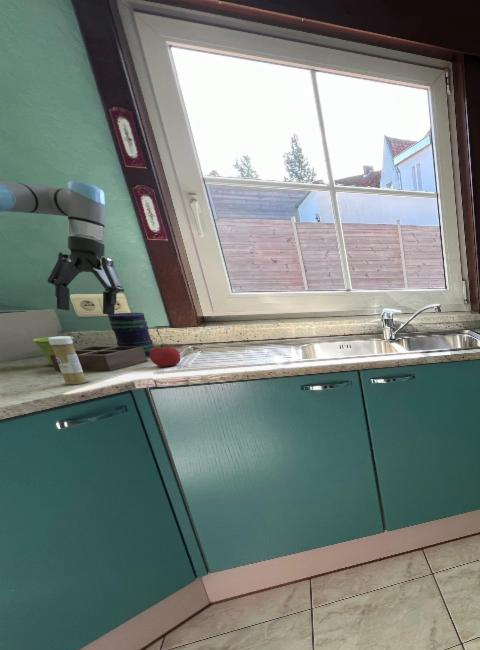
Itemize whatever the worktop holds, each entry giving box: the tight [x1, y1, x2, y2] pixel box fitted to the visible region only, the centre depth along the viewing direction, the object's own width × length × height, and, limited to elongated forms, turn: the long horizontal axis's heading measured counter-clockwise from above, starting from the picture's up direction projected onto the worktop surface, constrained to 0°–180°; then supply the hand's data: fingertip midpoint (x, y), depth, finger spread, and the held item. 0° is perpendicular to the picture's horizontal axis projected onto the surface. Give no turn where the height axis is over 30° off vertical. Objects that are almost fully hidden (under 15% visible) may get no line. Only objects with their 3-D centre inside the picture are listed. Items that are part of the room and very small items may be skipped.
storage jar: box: [107, 312, 156, 358], centre depth 178 cm, size 10×10×15 cm
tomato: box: [149, 343, 182, 368], centre depth 166 cm, size 8×8×7 cm
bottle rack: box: [50, 345, 148, 372], centre depth 164 cm, size 16×16×5 cm
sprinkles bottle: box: [48, 335, 87, 386], centre depth 142 cm, size 5×5×14 cm
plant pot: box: [32, 335, 75, 367], centre depth 164 cm, size 9×9×9 cm
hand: (85, 312), depth 147 cm, fingers open, 13 cm apart
